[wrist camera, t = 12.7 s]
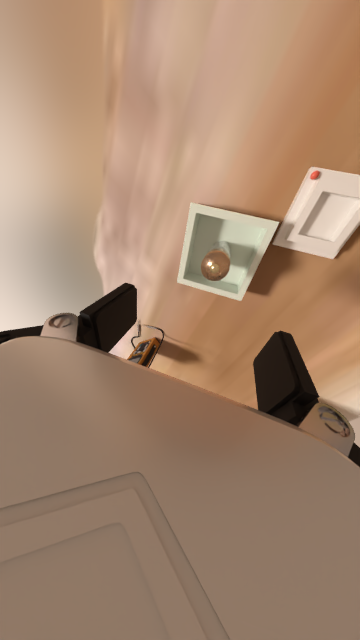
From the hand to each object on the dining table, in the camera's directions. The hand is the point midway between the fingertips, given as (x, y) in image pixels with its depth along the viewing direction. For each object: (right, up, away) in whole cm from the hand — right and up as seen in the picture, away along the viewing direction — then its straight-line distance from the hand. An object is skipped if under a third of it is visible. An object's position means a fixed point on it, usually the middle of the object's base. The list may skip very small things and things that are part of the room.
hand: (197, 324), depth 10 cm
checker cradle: (+19, +15, +12) cm, 27 cm away
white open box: (+6, +13, +18) cm, 23 cm away
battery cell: (+6, +12, +17) cm, 22 cm away
